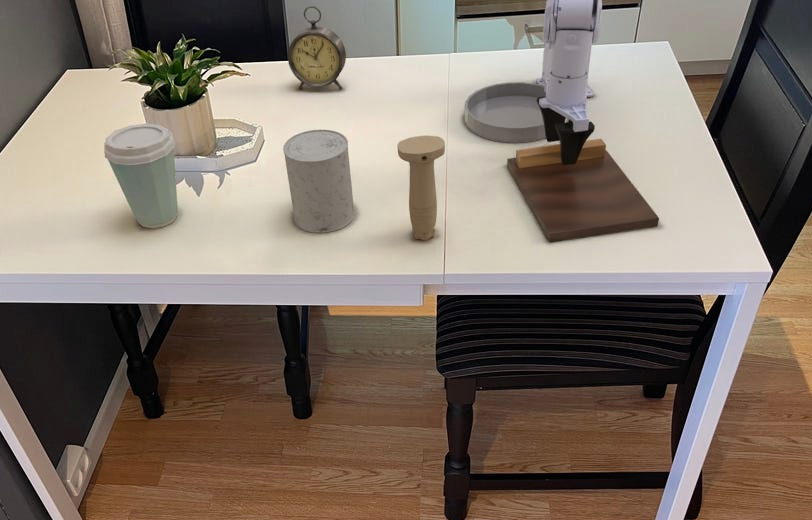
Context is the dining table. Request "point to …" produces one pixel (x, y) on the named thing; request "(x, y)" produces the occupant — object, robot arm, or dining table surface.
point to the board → (582, 198)
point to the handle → (422, 181)
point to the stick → (557, 154)
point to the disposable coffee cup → (145, 171)
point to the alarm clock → (316, 55)
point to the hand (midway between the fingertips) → (560, 151)
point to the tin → (506, 112)
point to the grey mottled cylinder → (319, 180)
